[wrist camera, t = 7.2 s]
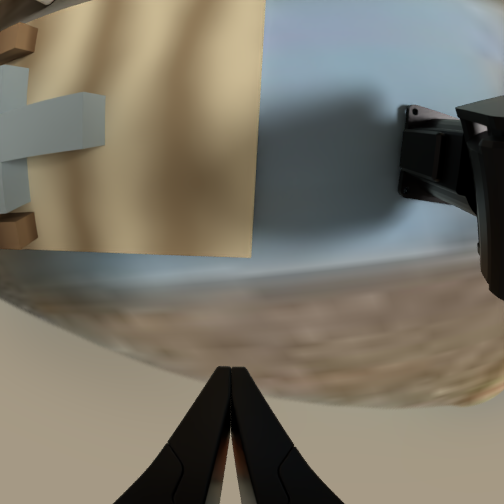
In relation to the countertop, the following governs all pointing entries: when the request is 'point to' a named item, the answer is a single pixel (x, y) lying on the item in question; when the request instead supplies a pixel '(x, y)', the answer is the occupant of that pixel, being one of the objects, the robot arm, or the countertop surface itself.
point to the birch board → (145, 127)
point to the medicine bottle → (45, 1)
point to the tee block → (40, 130)
